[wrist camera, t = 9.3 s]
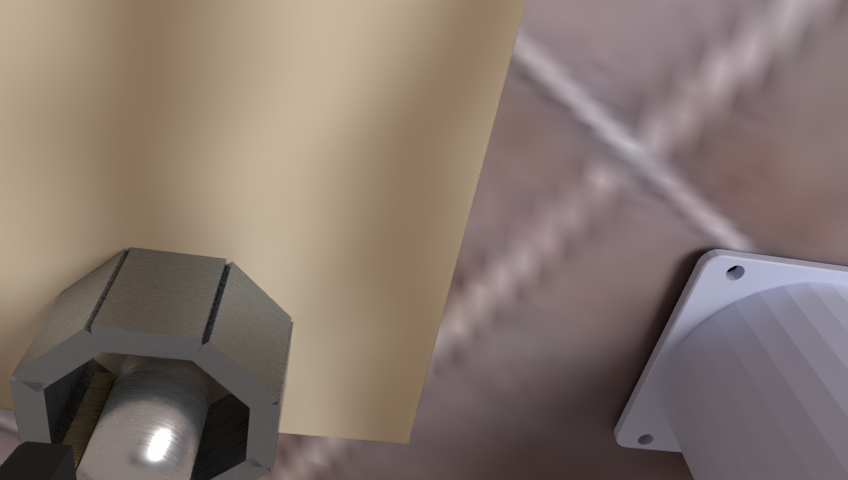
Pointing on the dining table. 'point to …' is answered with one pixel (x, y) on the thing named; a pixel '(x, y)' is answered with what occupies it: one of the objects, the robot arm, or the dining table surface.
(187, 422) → the steel post
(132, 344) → the ring hub
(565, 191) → the dining table surface
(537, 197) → the dining table surface
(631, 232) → the dining table surface
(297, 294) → the board
